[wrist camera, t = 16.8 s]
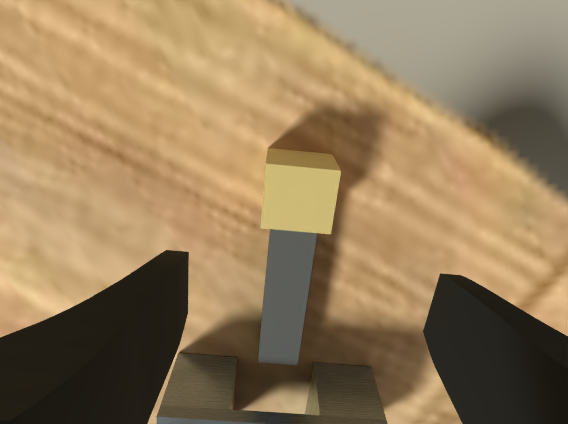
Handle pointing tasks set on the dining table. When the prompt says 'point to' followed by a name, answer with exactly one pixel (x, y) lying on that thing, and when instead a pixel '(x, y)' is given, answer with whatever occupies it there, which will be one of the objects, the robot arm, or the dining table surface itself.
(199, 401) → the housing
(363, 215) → the dining table surface
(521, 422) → the robot arm
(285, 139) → the dining table surface
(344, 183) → the dining table surface
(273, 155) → the plug
